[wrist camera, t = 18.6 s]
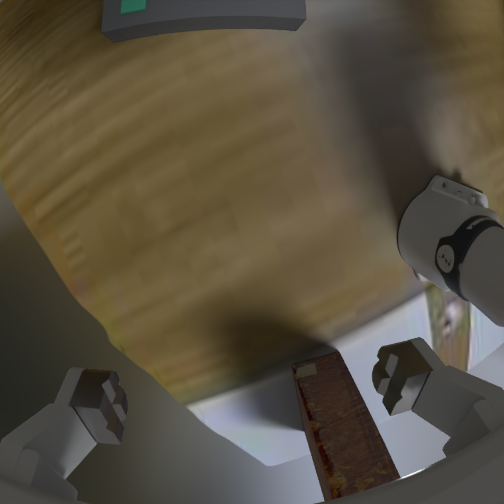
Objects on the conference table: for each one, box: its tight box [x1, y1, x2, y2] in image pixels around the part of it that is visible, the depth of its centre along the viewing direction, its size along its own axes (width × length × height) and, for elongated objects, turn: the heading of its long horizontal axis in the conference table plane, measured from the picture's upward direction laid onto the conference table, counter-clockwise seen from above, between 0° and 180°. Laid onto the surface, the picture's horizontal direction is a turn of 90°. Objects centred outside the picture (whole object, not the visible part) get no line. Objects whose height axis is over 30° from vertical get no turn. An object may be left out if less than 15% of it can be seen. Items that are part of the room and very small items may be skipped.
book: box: [292, 352, 401, 501], centre depth 44 cm, size 25×9×30 cm, turn 12°
